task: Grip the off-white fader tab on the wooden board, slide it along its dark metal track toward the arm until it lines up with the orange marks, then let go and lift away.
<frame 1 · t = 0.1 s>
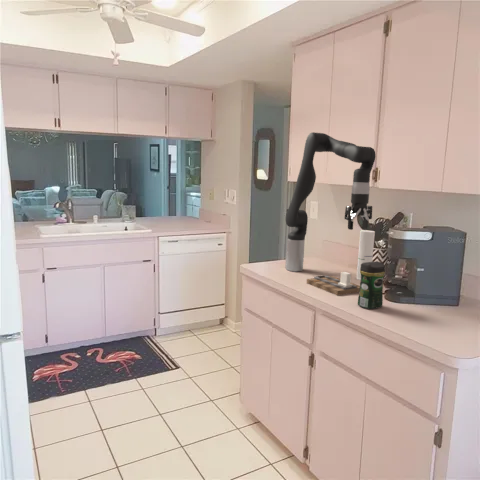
hand: (357, 229, 183), 29 cm above the countertop, tool pointing down, fingers open, 8 cm apart
fader: (345, 279, 187), point 5 cm above the countertop, slide at 7.0 cm
coffee jar: (369, 306, 166), on the countertop
cylindrical container: (363, 279, 211), on the countertop
wooden board: (334, 287, 193), on the countertop
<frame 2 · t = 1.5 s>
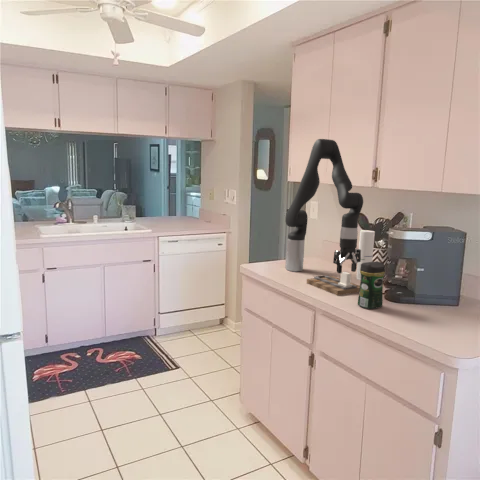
hand: (346, 272, 186), 9 cm above the countertop, tool pointing down, fingers open, 8 cm apart
nothing on the countertop moved.
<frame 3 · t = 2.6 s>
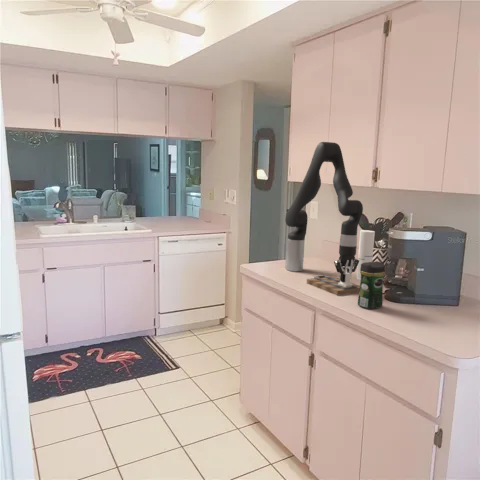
hand: (345, 281, 187), 5 cm above the countertop, tool pointing down, fingers closed on fader, 2 cm apart
fader: (345, 279, 187), point 5 cm above the countertop, slide at 7.0 cm, touching gripper
everything else where it was.
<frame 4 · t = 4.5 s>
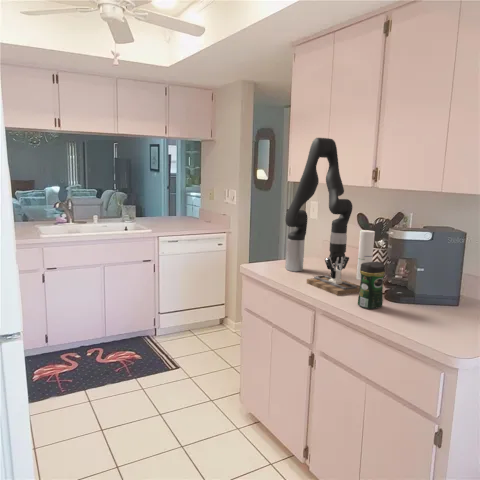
hand: (335, 277, 192), 5 cm above the countertop, tool pointing down, fingers closed on fader, 2 cm apart
fader: (335, 276, 192), point 5 cm above the countertop, slide at 0.5 cm, touching gripper
everything else where it was.
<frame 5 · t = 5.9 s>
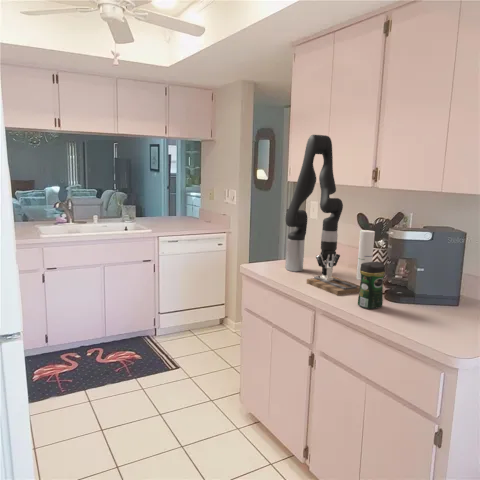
hand: (326, 274, 198), 5 cm above the countertop, tool pointing down, fingers closed on fader, 2 cm apart
fader: (327, 273, 198), point 5 cm above the countertop, slide at -5.8 cm, touching gripper
everything else where it was.
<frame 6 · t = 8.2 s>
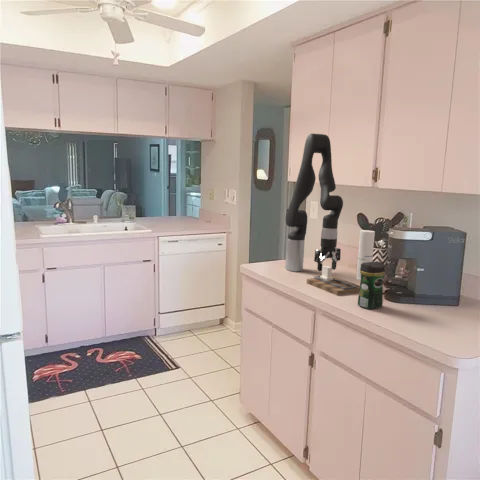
hand: (326, 270, 198), 7 cm above the countertop, tool pointing down, fingers open, 8 cm apart
fader: (326, 273, 198), point 5 cm above the countertop, slide at -6.0 cm
everything else where it was.
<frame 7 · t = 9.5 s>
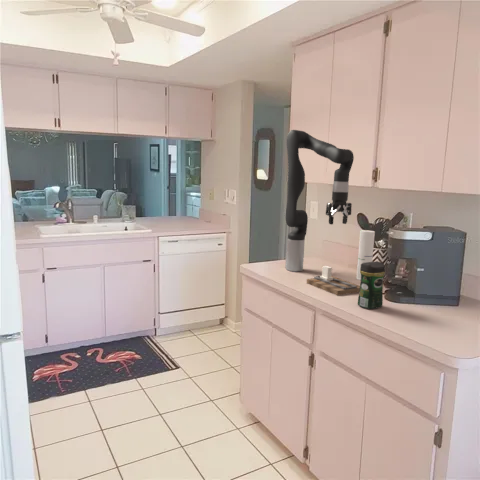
hand: (337, 224, 201), 29 cm above the countertop, tool pointing down, fingers open, 8 cm apart
nothing on the countertop moved.
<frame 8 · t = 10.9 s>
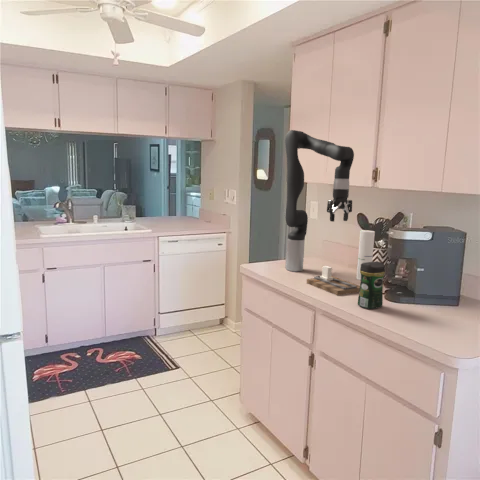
hand: (338, 221, 202), 30 cm above the countertop, tool pointing down, fingers open, 8 cm apart
nothing on the countertop moved.
at the end: fader slide at -6.0 cm; the gripper is holding nothing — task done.
